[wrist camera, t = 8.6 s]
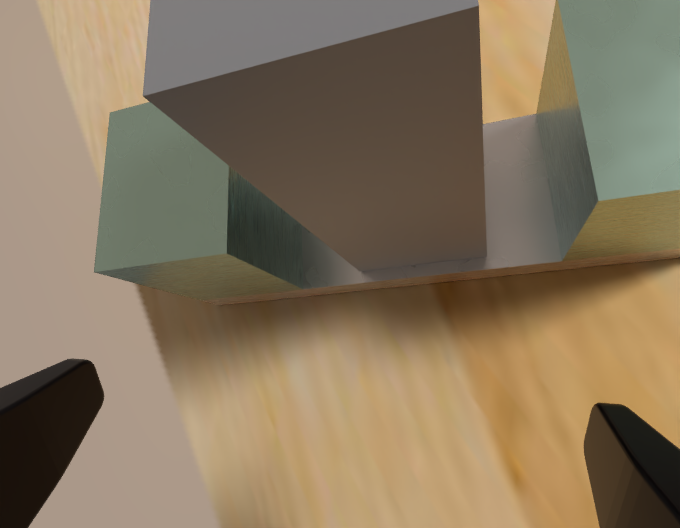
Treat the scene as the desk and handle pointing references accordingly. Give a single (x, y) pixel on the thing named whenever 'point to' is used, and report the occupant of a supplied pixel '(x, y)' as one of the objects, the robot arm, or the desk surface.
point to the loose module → (337, 114)
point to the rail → (499, 174)
